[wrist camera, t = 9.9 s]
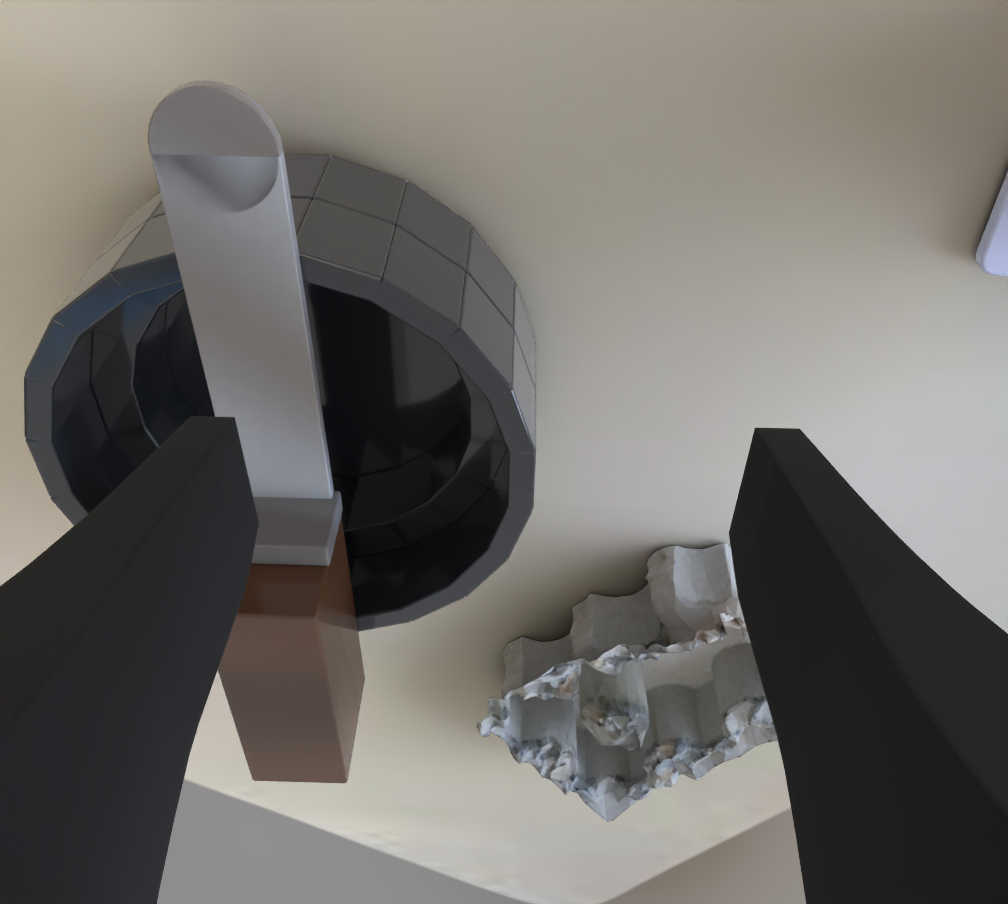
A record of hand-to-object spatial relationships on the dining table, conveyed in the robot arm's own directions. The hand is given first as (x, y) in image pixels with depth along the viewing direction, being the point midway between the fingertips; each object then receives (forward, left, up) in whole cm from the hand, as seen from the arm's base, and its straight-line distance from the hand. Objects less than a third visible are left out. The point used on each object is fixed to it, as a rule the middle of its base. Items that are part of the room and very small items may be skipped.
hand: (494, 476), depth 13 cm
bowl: (+5, +5, -10) cm, 12 cm away
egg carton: (-5, +17, -11) cm, 21 cm away
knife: (+5, +5, -5) cm, 9 cm away
